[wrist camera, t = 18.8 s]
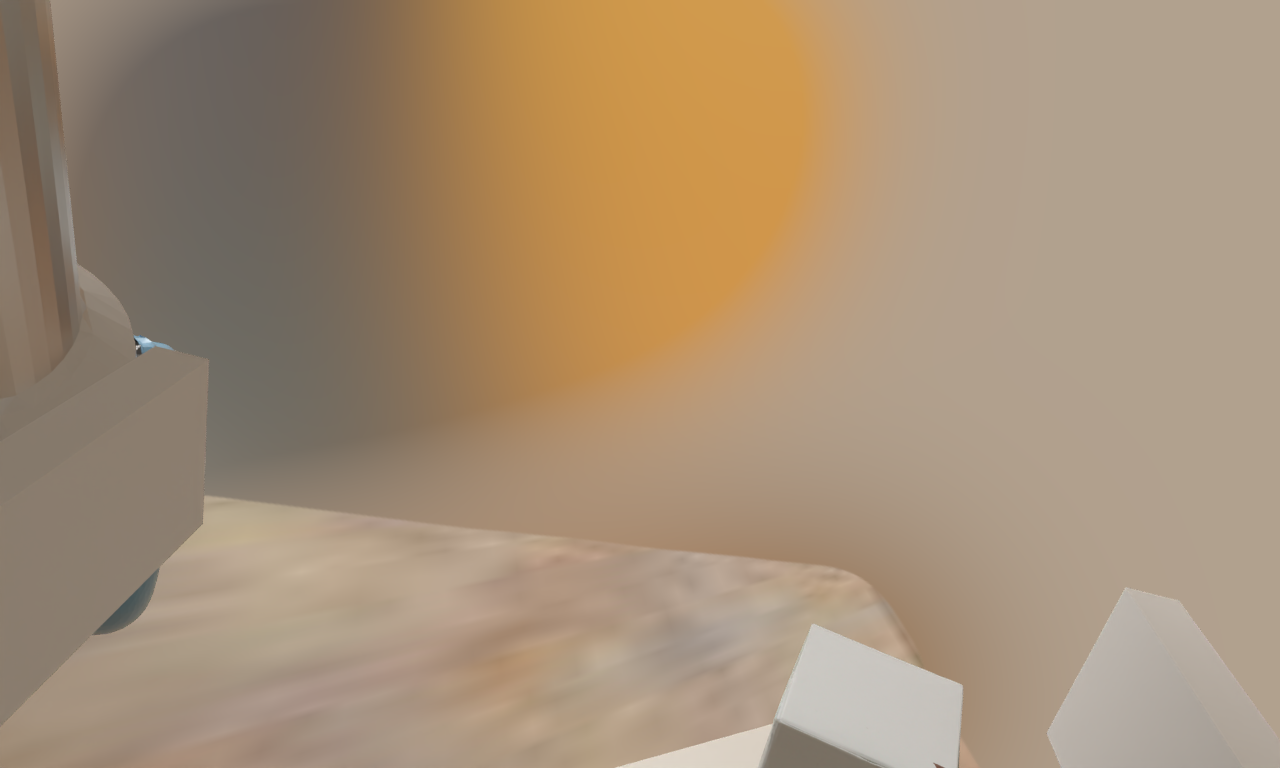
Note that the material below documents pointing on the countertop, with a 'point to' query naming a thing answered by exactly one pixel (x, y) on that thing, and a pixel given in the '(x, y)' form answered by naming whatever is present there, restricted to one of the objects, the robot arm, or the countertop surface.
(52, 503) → the robot arm
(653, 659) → the countertop surface
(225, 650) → the countertop surface
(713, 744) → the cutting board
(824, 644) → the supplement box
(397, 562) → the countertop surface
